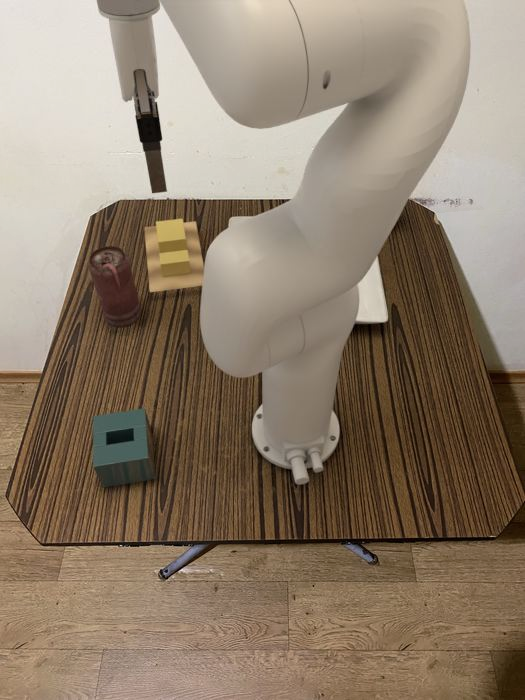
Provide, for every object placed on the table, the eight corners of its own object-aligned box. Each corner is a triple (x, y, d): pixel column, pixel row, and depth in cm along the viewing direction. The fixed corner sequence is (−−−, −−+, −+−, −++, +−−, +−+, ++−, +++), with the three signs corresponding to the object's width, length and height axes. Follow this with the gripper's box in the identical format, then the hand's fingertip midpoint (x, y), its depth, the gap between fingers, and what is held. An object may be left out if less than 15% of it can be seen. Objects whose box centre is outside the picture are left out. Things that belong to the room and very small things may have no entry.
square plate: (386, 336, 95) (390, 320, 92) (220, 334, 95) (219, 318, 92) (370, 231, 112) (373, 214, 109) (229, 229, 112) (229, 213, 109)
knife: (168, 195, 91) (154, 104, 79) (151, 197, 91) (135, 106, 79) (167, 186, 92) (153, 95, 81) (150, 188, 92) (134, 97, 81)
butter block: (187, 251, 106) (185, 238, 104) (160, 254, 106) (157, 242, 103) (184, 231, 110) (182, 218, 108) (158, 234, 109) (155, 221, 107)
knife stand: (155, 479, 79) (148, 457, 74) (103, 487, 78) (92, 466, 73) (151, 431, 84) (144, 408, 79) (102, 438, 83) (93, 415, 78)
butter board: (207, 290, 102) (207, 284, 101) (150, 298, 101) (149, 292, 99) (196, 227, 113) (195, 221, 112) (145, 233, 112) (144, 227, 111)
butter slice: (190, 273, 102) (189, 260, 100) (162, 277, 102) (160, 264, 100) (189, 262, 104) (187, 249, 102) (161, 265, 104) (159, 253, 101)
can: (119, 340, 95) (100, 277, 84) (100, 318, 98) (79, 255, 87) (150, 322, 97) (135, 259, 86) (130, 301, 100) (114, 238, 89)
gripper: (95, -26, 74) (122, 110, 89) (96, 25, 64) (126, 169, 79) (154, -30, 75) (171, 105, 89) (163, 19, 65) (181, 163, 79)
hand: (150, 134), depth 84 cm, fingers closed on knife, 2 cm apart
